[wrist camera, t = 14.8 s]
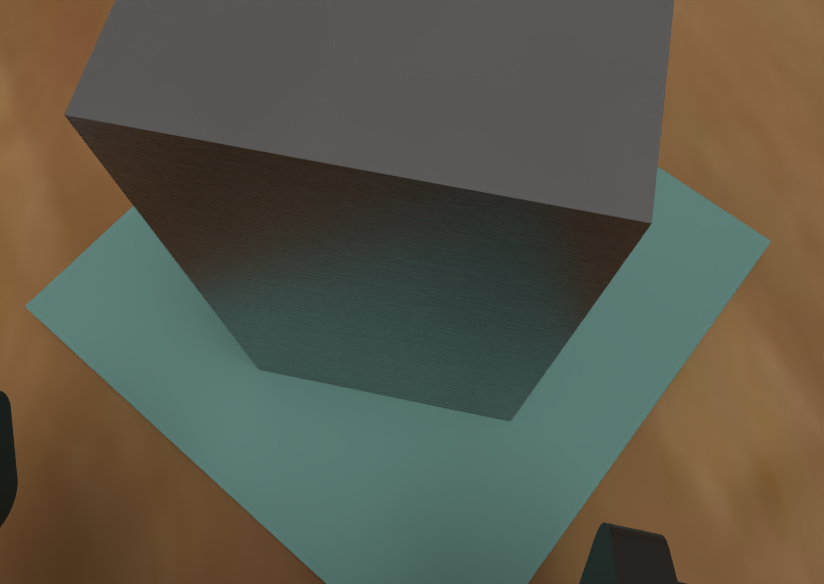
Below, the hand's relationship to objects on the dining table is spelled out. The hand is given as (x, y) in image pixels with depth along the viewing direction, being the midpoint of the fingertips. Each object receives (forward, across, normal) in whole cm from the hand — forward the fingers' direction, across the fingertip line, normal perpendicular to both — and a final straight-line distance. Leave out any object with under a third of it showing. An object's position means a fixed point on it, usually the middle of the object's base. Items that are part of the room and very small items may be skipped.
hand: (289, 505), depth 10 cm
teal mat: (+11, 0, +1) cm, 11 cm away
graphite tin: (+10, 0, +1) cm, 10 cm away
